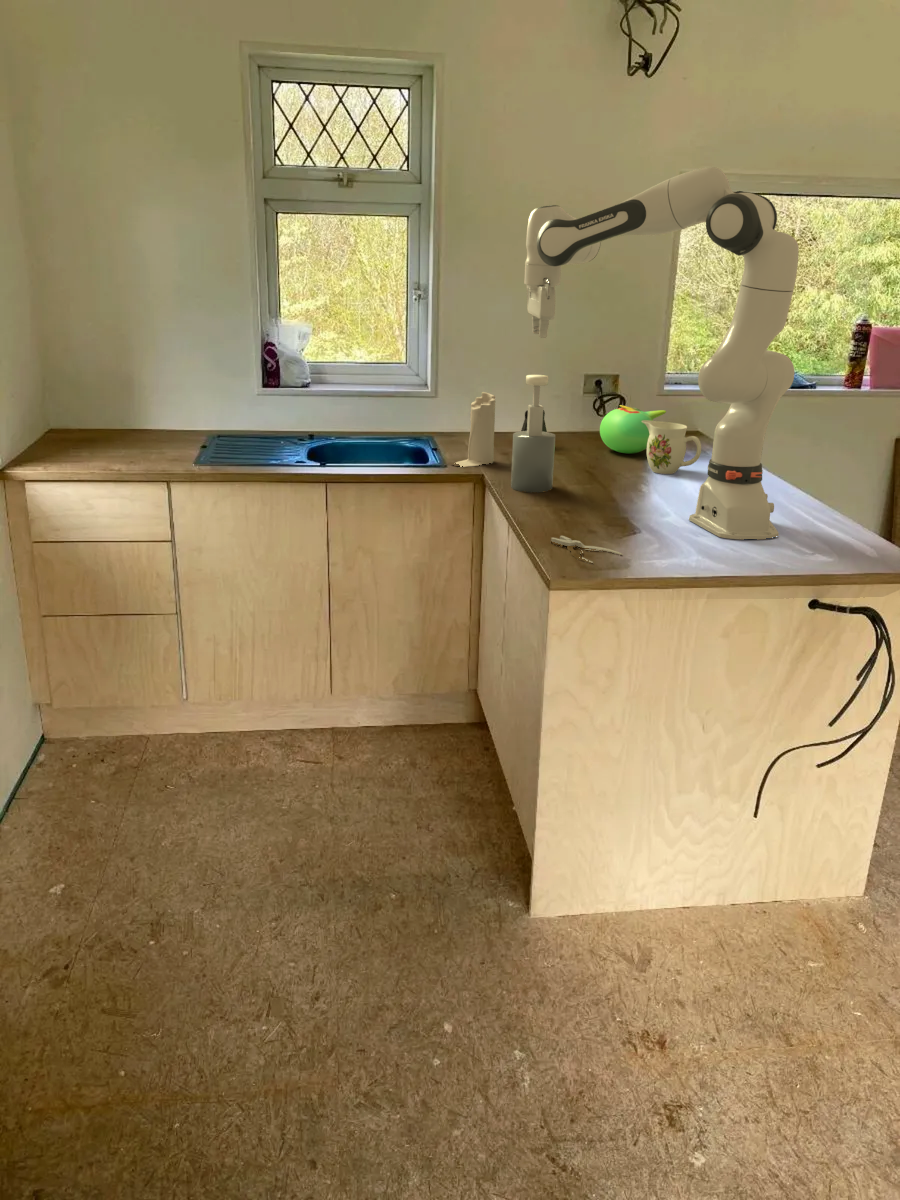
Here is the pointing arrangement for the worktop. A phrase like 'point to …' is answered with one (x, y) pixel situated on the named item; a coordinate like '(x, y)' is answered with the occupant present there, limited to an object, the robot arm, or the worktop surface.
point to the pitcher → (668, 446)
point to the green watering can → (627, 429)
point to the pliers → (580, 545)
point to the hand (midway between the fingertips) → (539, 335)
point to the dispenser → (533, 455)
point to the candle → (481, 431)
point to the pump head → (536, 386)
